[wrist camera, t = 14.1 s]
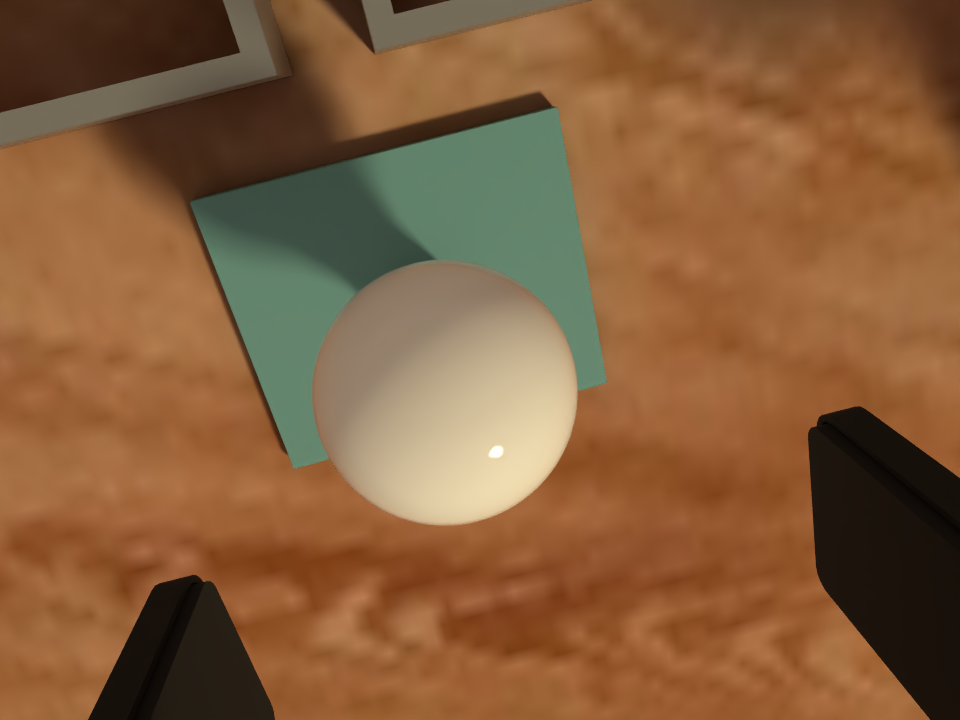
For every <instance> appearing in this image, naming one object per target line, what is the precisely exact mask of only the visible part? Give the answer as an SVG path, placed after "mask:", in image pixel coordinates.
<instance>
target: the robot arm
mask: <svg viewBox="0 0 960 720" xmlns="http://www.w3.org/2000/svg"><path fill="white" fill-rule="evenodd" d="M808 443H809V459H810V476H811V492H812V508H813V524H814V540H815V556H816V568H817V573H818V576H819V579H820V581H821V583H822V585H823V587H824V589H825V590H826V592H827V593H828V594H829V595H830V597H831V598H832V599H833V600H834V602H835V603H836V604H837V605H838V606H839V608H840V609H841V610H842V611H843V613H844V614H845V615H846V616H847V618H848V619H849V620H850V621H851V622H852V624H853V625H854V626H855V627H856V629H857V630H858V631H859V632H860V634H861V635H862V636H863V637H864V638H865V640H866V641H867V642H868V643H869V645H870V646H871V647H872V648H873V650H874V651H875V652H876V653H877V655H878V656H879V657H880V658H881V659H882V661H883V662H884V663H885V664H886V666H887V667H888V668H889V669H890V671H891V672H892V673H893V674H894V675H895V677H896V678H897V679H898V680H899V682H900V683H901V684H902V685H903V687H904V688H905V689H906V690H907V692H908V693H909V694H910V695H911V696H912V698H913V699H914V700H915V701H916V703H917V704H918V705H919V706H920V708H921V709H922V710H923V711H924V712H925V714H926V715H927V716H928V717H929V719H930V720H960V478H959V477H958V476H956V475H955V474H953V473H952V472H951V471H949V470H948V469H947V468H945V467H944V466H942V465H941V464H940V463H938V462H937V461H936V460H934V459H933V458H932V457H930V456H929V455H927V454H926V453H925V452H923V451H922V450H921V449H919V448H918V447H916V446H915V445H914V444H912V443H911V442H910V441H908V440H907V439H906V438H904V437H903V436H901V435H900V434H899V433H897V432H896V431H895V430H893V429H892V428H890V427H889V426H888V425H886V424H885V423H884V422H882V421H881V420H880V419H878V418H877V417H875V416H874V415H873V414H871V413H870V412H869V411H867V410H866V409H864V408H862V407H852V408H848V409H844V410H840V411H836V412H832V413H829V414H825V415H821V416H820V417H819V419H818V422H817V426H816V427H812V428H811V429H810V430H809V433H808ZM88 720H275V717H274V711H273V708H272V705H271V703H270V700H269V698H268V696H267V694H266V692H265V690H264V688H263V686H262V684H261V681H260V679H259V677H258V675H257V673H256V671H255V669H254V667H253V665H252V662H251V660H250V658H249V656H248V654H247V652H246V650H245V648H244V646H243V643H242V641H241V639H240V637H239V635H238V633H237V631H236V629H235V627H234V624H233V622H232V620H231V618H230V616H229V614H228V612H227V610H226V608H225V605H224V603H223V601H222V599H221V597H220V595H219V593H218V591H217V589H216V587H215V585H214V584H213V583H212V582H210V581H206V582H203V581H202V580H201V579H200V578H199V577H198V576H196V575H191V576H187V577H183V578H179V579H175V580H171V581H167V582H163V583H159V584H157V585H155V587H154V588H153V590H152V591H151V593H150V595H149V597H148V599H147V601H146V603H145V605H144V607H143V609H142V611H141V613H140V616H139V618H138V620H137V622H136V624H135V626H134V628H133V630H132V632H131V634H130V636H129V638H128V640H127V642H126V644H125V646H124V648H123V650H122V652H121V654H120V656H119V658H118V660H117V662H116V664H115V666H114V668H113V670H112V672H111V674H110V676H109V678H108V680H107V682H106V684H105V686H104V688H103V691H102V693H101V695H100V697H99V699H98V701H97V703H96V705H95V707H94V709H93V711H92V713H91V715H90V717H89V719H88Z"/></svg>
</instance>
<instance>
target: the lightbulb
mask: <svg viewBox="0 0 960 720" xmlns="http://www.w3.org/2000/svg"><path fill="white" fill-rule="evenodd" d="M577 401H578V384H577V374H576V368H575V363H574V359H573V355H572V352H571V349H570V346H569V343H568V341H567V339H566V336H565V334H564V332H563V330H562V328H561V327H560V325H559V323H558V322H557V320H556V319H555V317H554V316H553V314H552V313H551V311H550V310H549V309H548V308H547V306H546V305H545V304H544V303H543V302H542V301H541V300H540V299H539V298H538V297H537V296H536V295H535V294H534V293H533V292H532V291H530V290H529V289H528V288H527V287H525V286H524V285H523V284H521V283H520V282H518V281H517V280H515V279H514V278H512V277H510V276H508V275H507V274H505V273H503V272H500V271H498V270H496V269H493V268H491V267H488V266H485V265H481V264H478V263H474V262H469V261H462V260H450V259H440V260H428V261H421V262H416V263H412V264H408V265H405V266H402V267H399V268H397V269H394V270H392V271H390V272H387V273H385V274H383V275H382V276H380V277H378V278H376V279H375V280H373V281H372V282H370V283H369V284H367V285H366V286H365V287H363V288H362V289H361V290H359V291H358V292H357V293H356V294H355V295H354V296H353V297H352V298H351V299H350V300H349V301H348V302H347V303H346V304H345V305H344V306H343V308H342V309H341V310H340V311H339V313H338V314H337V315H336V317H335V318H334V320H333V321H332V323H331V325H330V326H329V328H328V330H327V332H326V334H325V336H324V338H323V340H322V343H321V345H320V348H319V351H318V354H317V357H316V361H315V365H314V371H313V378H312V406H313V414H314V419H315V424H316V428H317V431H318V435H319V437H320V440H321V443H322V445H323V447H324V450H325V452H326V454H327V455H328V457H329V459H330V461H331V462H332V464H333V466H334V467H335V469H336V470H337V471H338V473H339V474H340V475H341V477H342V478H343V479H344V480H345V481H346V482H347V484H348V485H349V486H350V487H351V488H352V489H353V490H354V491H356V492H357V493H358V494H359V495H360V496H361V497H363V498H364V499H365V500H367V501H368V502H369V503H371V504H372V505H374V506H376V507H377V508H379V509H381V510H383V511H385V512H387V513H389V514H391V515H393V516H396V517H398V518H401V519H404V520H408V521H411V522H415V523H420V524H426V525H437V526H451V525H462V524H468V523H473V522H478V521H481V520H485V519H488V518H490V517H493V516H496V515H498V514H500V513H502V512H504V511H506V510H508V509H510V508H512V507H513V506H515V505H517V504H518V503H520V502H521V501H523V500H524V499H525V498H527V497H528V496H529V495H530V494H531V493H533V492H534V491H535V490H536V489H537V488H538V487H539V486H540V485H541V484H542V483H543V482H544V481H545V479H546V478H547V477H548V476H549V475H550V473H551V472H552V471H553V469H554V468H555V466H556V465H557V463H558V462H559V460H560V458H561V456H562V455H563V453H564V451H565V449H566V446H567V444H568V442H569V439H570V436H571V433H572V430H573V426H574V422H575V417H576V411H577Z"/></svg>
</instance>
